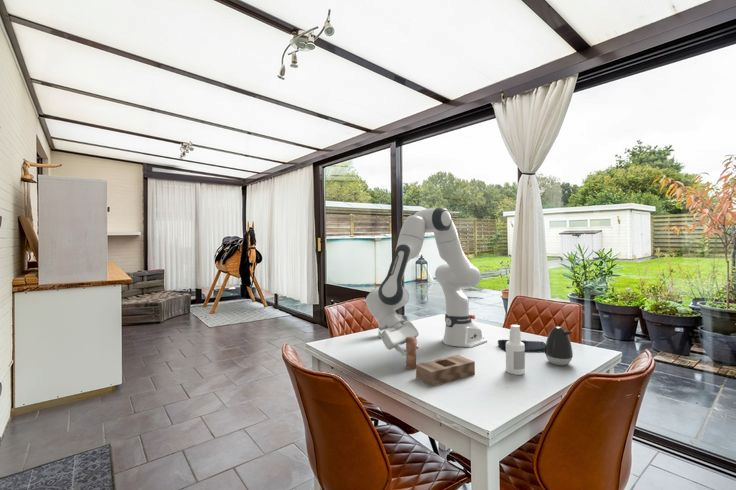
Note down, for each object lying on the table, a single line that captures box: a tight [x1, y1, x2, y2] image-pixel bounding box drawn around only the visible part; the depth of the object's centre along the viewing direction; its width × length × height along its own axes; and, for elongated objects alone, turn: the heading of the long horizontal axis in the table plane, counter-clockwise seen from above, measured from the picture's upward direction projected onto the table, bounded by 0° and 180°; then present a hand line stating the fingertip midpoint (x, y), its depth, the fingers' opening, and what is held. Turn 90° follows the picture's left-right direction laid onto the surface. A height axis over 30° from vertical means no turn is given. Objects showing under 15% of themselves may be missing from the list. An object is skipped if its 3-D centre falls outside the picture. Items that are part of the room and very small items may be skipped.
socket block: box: [415, 354, 476, 387], centre depth 132 cm, size 21×9×5 cm, turn 119°
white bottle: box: [505, 324, 526, 376], centre depth 136 cm, size 7×7×18 cm
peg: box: [405, 337, 417, 371], centre depth 141 cm, size 4×4×12 cm
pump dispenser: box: [544, 326, 574, 366], centre depth 144 cm, size 10×10×15 cm
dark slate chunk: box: [497, 339, 546, 353], centre depth 166 cm, size 15×22×5 cm
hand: (411, 351), depth 141 cm, fingers open, 8 cm apart
